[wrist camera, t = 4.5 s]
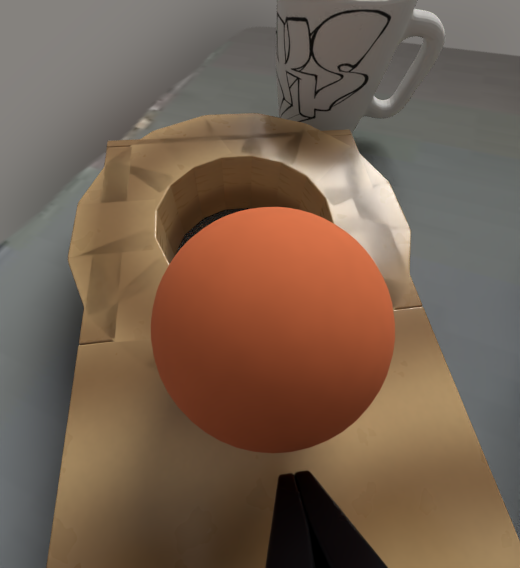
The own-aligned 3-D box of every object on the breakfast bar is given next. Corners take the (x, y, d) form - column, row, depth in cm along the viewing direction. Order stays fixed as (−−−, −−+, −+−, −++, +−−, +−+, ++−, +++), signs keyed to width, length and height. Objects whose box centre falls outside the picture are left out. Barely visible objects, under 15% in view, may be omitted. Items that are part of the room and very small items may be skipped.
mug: (390, 104, 28) (456, -48, 20) (405, 168, 24) (496, 13, 16) (269, 95, 28) (280, -64, 19) (264, 157, 24) (276, -6, 15)
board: (542, 729, 11) (710, 892, 7) (44, 866, 9) (-107, 1185, 5) (338, 162, 24) (356, 108, 20) (119, 175, 23) (92, 119, 19)
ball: (361, 450, 11) (513, 462, 5) (166, 449, 11) (56, 460, 4) (338, 280, 14) (412, 154, 8) (188, 276, 14) (143, 144, 8)
